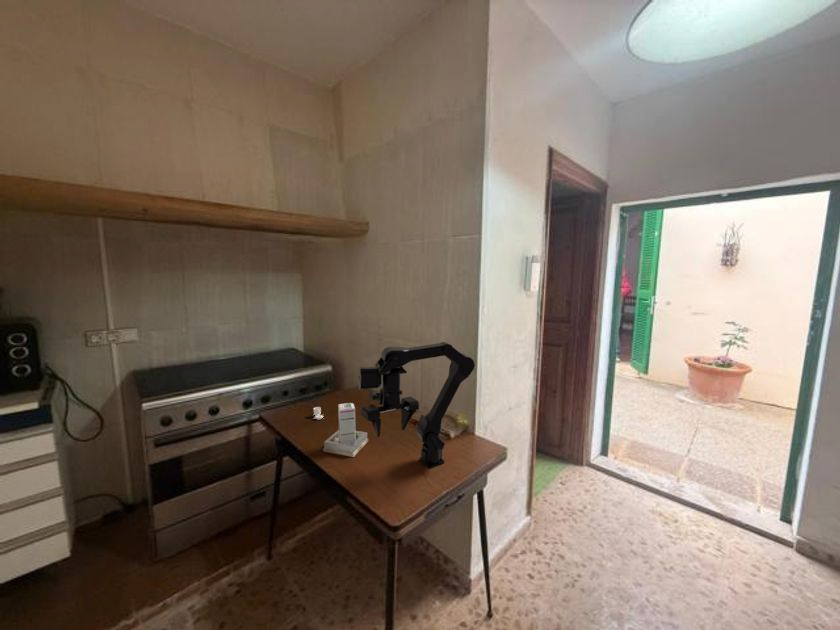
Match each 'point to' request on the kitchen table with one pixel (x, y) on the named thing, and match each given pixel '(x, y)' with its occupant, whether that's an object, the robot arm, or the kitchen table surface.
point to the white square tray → (345, 449)
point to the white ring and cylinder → (317, 413)
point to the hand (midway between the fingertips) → (390, 433)
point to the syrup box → (346, 423)
